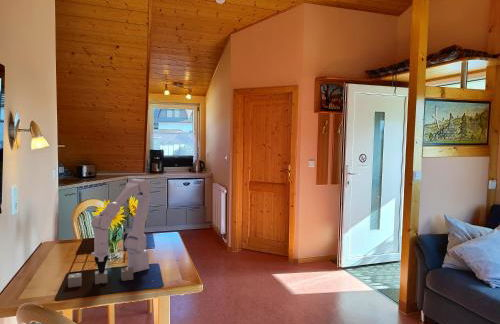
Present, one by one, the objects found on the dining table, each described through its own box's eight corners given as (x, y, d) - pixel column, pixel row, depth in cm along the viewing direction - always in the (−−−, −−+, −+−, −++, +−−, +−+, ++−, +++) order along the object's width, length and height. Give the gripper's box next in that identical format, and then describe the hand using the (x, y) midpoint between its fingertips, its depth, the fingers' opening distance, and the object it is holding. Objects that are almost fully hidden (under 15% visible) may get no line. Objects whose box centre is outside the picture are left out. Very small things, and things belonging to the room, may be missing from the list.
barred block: (132, 275, 169) (132, 266, 168) (133, 279, 164) (133, 270, 164) (121, 276, 167) (121, 267, 167) (121, 280, 162) (121, 271, 162)
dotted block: (81, 281, 161) (81, 272, 160) (81, 285, 156) (81, 276, 156) (68, 283, 159) (68, 273, 158) (68, 287, 154) (68, 277, 154)
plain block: (107, 278, 164) (107, 270, 164) (107, 282, 160) (107, 273, 160) (95, 280, 163) (95, 271, 162) (95, 284, 158) (95, 275, 158)
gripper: (92, 239, 166) (92, 268, 166) (90, 247, 152) (91, 279, 153) (108, 237, 168) (109, 266, 169) (108, 246, 155) (108, 277, 155)
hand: (101, 272), depth 161 cm, fingers closed, pressing on plain block
